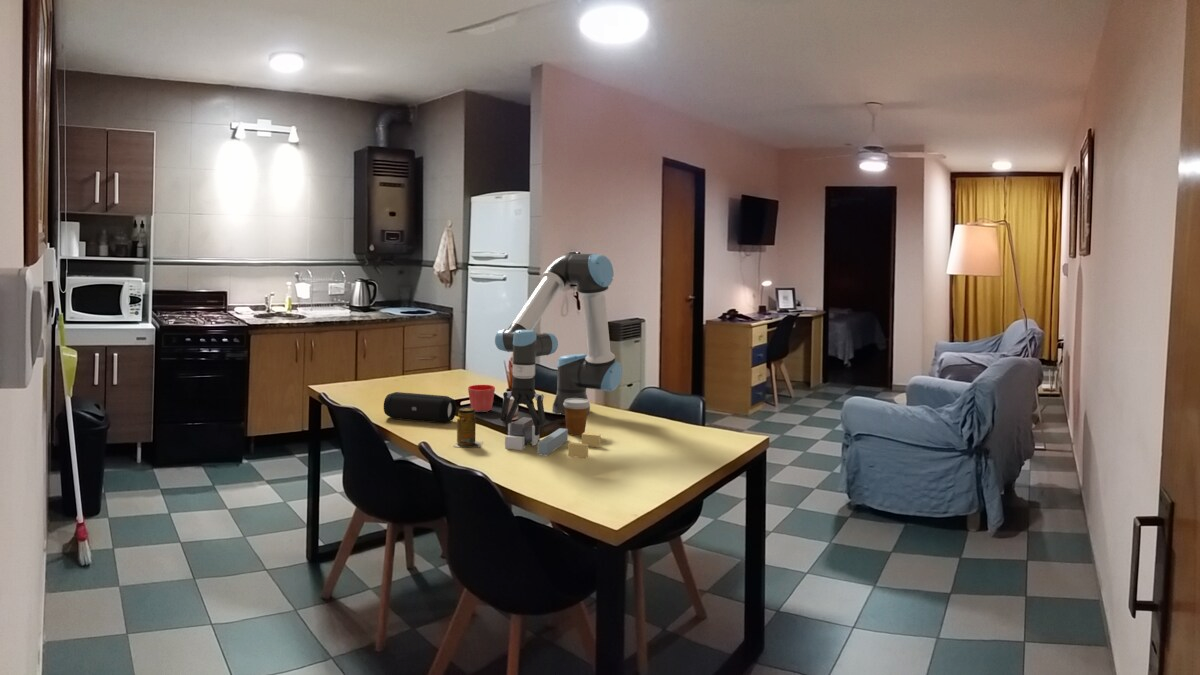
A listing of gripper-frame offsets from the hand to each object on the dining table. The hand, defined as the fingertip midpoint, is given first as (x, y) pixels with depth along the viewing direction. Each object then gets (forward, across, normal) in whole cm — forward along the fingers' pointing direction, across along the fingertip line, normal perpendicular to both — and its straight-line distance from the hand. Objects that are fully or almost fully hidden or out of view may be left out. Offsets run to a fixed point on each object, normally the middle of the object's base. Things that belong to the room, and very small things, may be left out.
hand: (522, 443), depth 253 cm
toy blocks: (0, +11, 0) cm, 11 cm away
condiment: (+1, -16, -8) cm, 18 cm away
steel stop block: (0, 0, 0) cm, 0 cm away
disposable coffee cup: (0, +12, +20) cm, 24 cm away
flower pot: (0, -34, +38) cm, 51 cm away
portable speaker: (+1, -48, +16) cm, 50 cm away
